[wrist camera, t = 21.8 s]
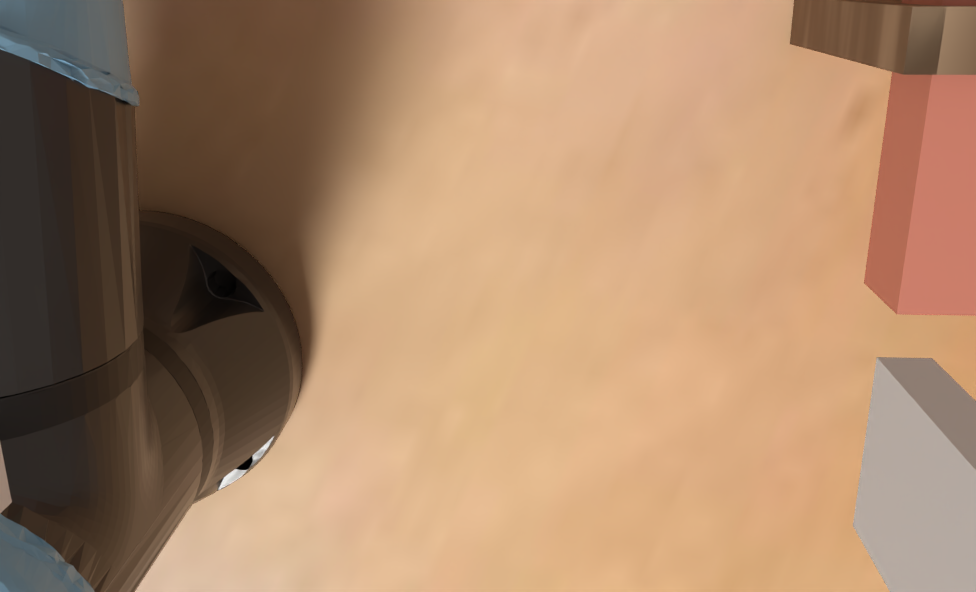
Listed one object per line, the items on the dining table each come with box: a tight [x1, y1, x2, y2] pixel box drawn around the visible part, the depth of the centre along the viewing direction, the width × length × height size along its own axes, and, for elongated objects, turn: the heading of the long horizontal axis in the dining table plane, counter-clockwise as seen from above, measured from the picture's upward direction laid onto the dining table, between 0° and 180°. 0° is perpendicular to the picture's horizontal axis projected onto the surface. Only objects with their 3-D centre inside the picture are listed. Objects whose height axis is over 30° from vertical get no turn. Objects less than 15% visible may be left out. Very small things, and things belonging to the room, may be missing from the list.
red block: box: [864, 0, 976, 315], centre depth 31 cm, size 3×16×4 cm, turn 0°
